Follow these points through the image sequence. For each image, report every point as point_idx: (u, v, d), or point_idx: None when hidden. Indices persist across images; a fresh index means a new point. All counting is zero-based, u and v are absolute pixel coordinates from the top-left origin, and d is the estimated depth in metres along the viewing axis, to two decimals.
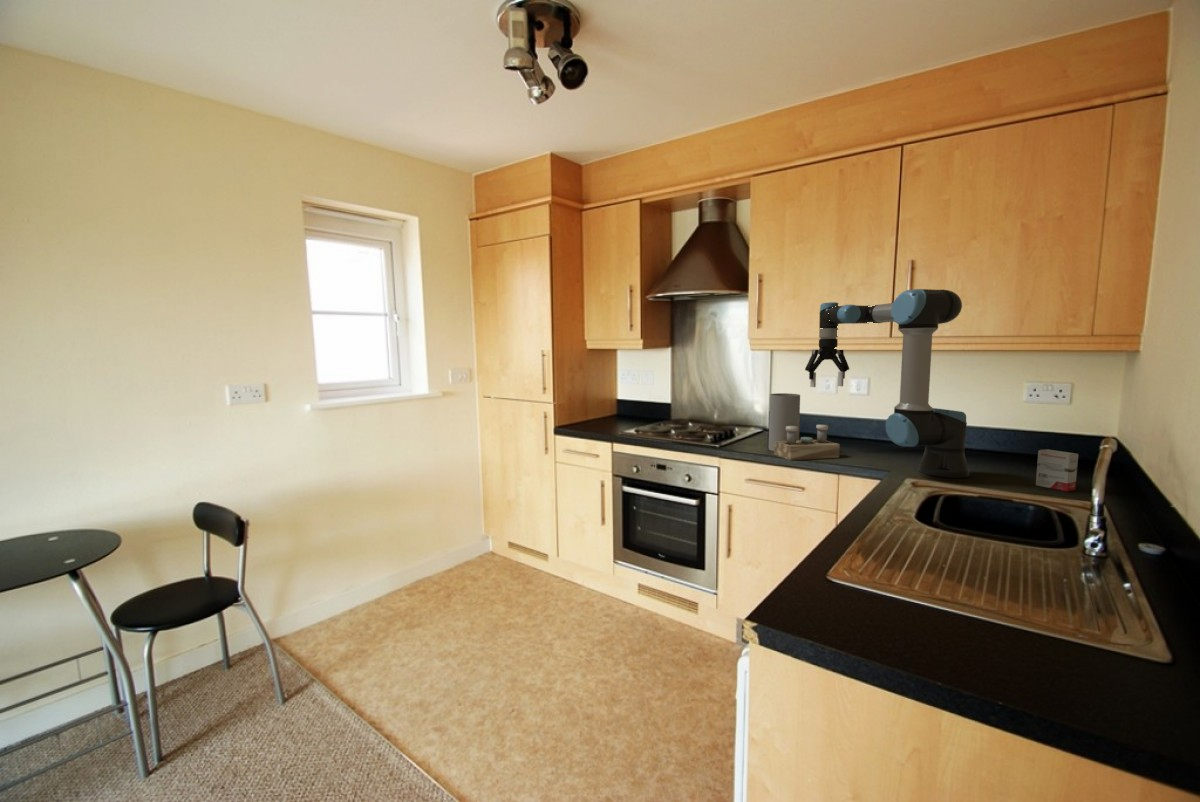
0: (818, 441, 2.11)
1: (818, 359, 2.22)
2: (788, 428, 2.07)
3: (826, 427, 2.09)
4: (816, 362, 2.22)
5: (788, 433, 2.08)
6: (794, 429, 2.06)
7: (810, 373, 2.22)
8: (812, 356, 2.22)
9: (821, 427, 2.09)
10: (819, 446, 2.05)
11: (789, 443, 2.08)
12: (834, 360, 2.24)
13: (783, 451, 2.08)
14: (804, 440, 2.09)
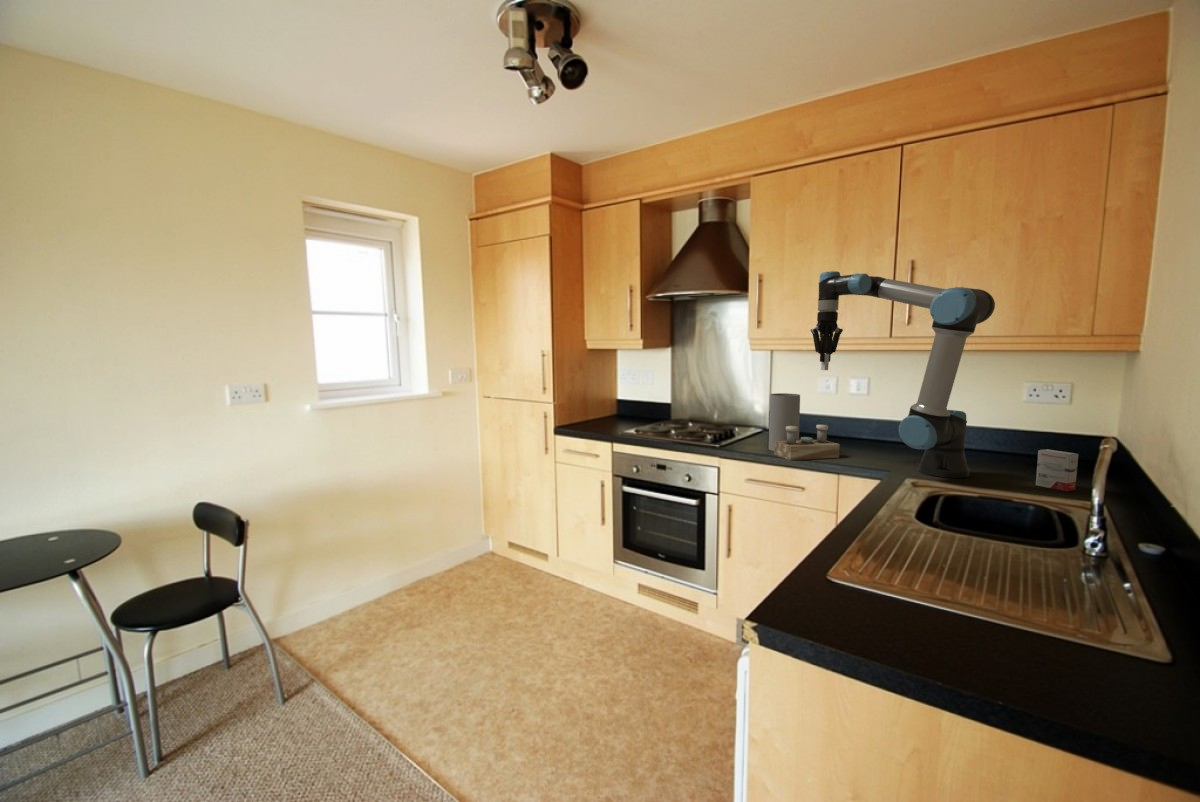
0: (818, 441, 2.11)
1: (821, 337, 2.04)
2: (788, 428, 2.07)
3: (826, 427, 2.09)
4: (821, 342, 2.04)
5: (788, 433, 2.08)
6: (794, 429, 2.06)
7: (821, 355, 2.05)
8: (814, 336, 2.04)
9: (821, 427, 2.09)
10: (819, 446, 2.05)
11: (789, 443, 2.08)
12: (828, 337, 2.04)
13: (783, 451, 2.08)
14: (804, 440, 2.09)
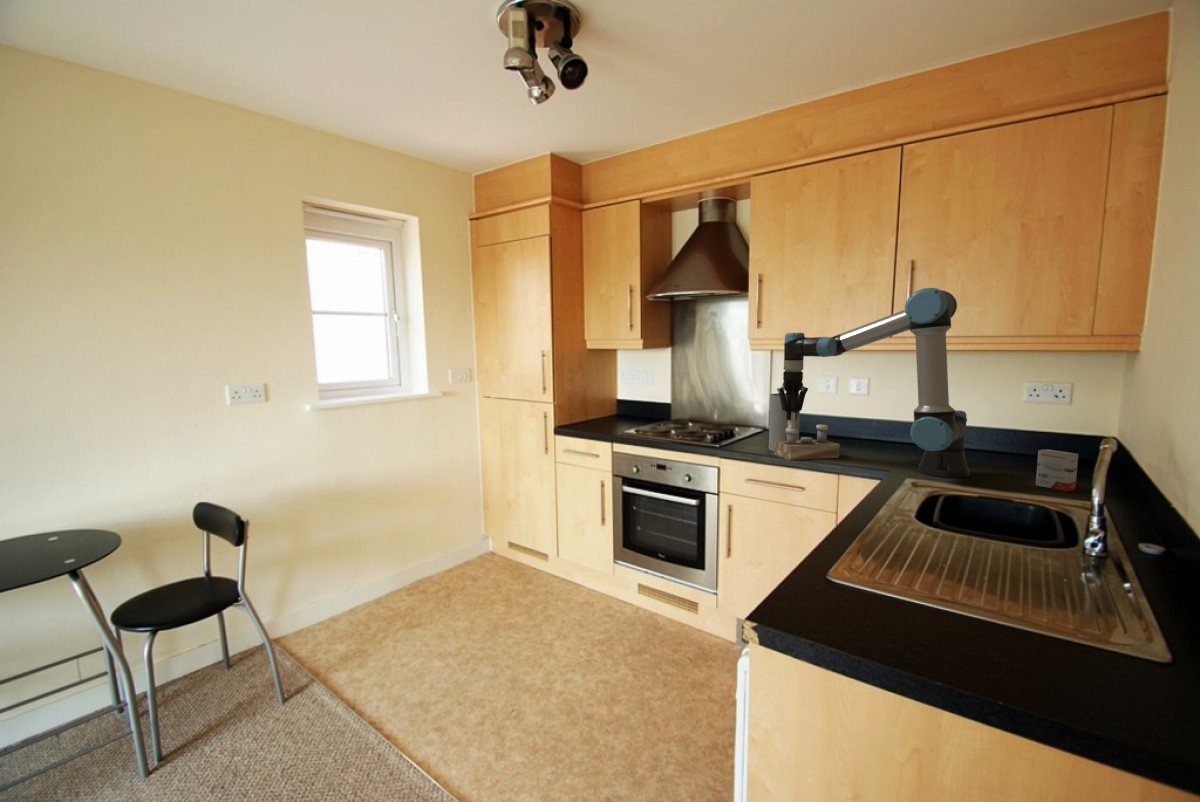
0: (818, 441, 2.11)
1: (787, 396, 2.07)
2: (788, 430, 2.07)
3: (826, 427, 2.09)
4: (788, 400, 2.07)
5: (788, 435, 2.08)
6: (794, 431, 2.06)
7: (787, 413, 2.07)
8: (780, 395, 2.06)
9: (821, 427, 2.09)
10: (819, 446, 2.05)
11: None
12: (794, 395, 2.07)
13: (783, 451, 2.08)
14: (804, 440, 2.09)
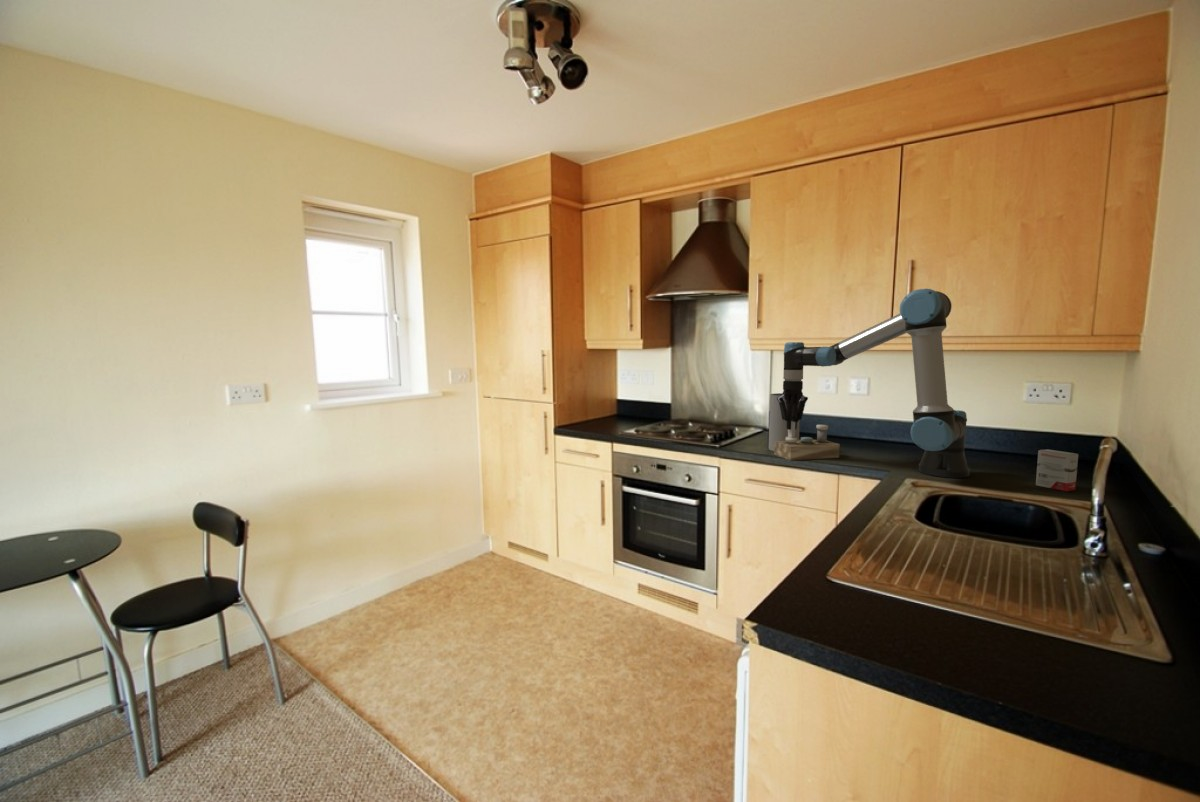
0: (818, 441, 2.11)
1: (787, 405, 2.07)
2: (788, 439, 2.08)
3: (826, 427, 2.09)
4: (788, 410, 2.07)
5: (788, 444, 2.08)
6: (794, 440, 2.07)
7: (787, 423, 2.08)
8: (780, 405, 2.07)
9: (821, 427, 2.09)
10: (819, 446, 2.05)
11: None
12: (794, 405, 2.07)
13: (783, 451, 2.08)
14: (804, 440, 2.09)
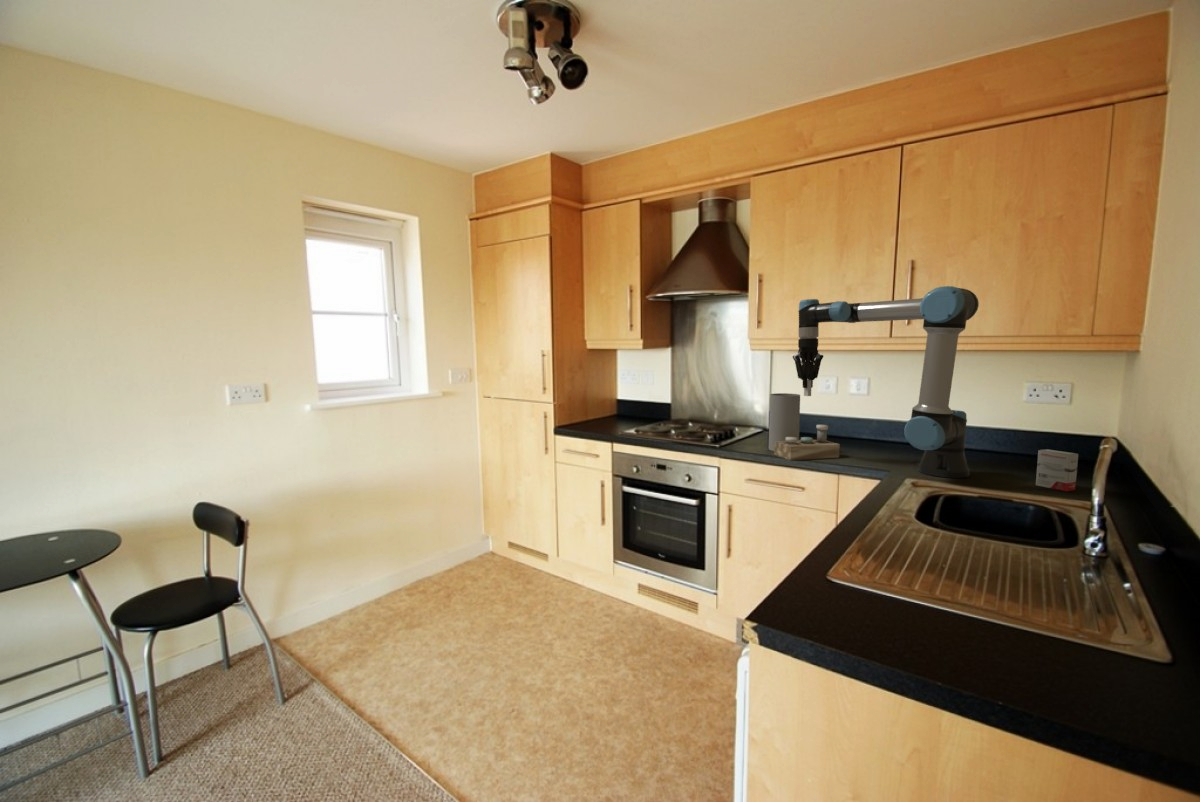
0: (818, 441, 2.11)
1: (803, 364, 2.06)
2: (788, 439, 2.08)
3: (826, 427, 2.09)
4: (803, 368, 2.06)
5: (788, 444, 2.08)
6: (794, 440, 2.07)
7: (803, 381, 2.07)
8: (796, 363, 2.06)
9: (821, 427, 2.09)
10: (819, 446, 2.05)
11: None
12: (809, 363, 2.07)
13: (783, 451, 2.08)
14: (804, 440, 2.09)
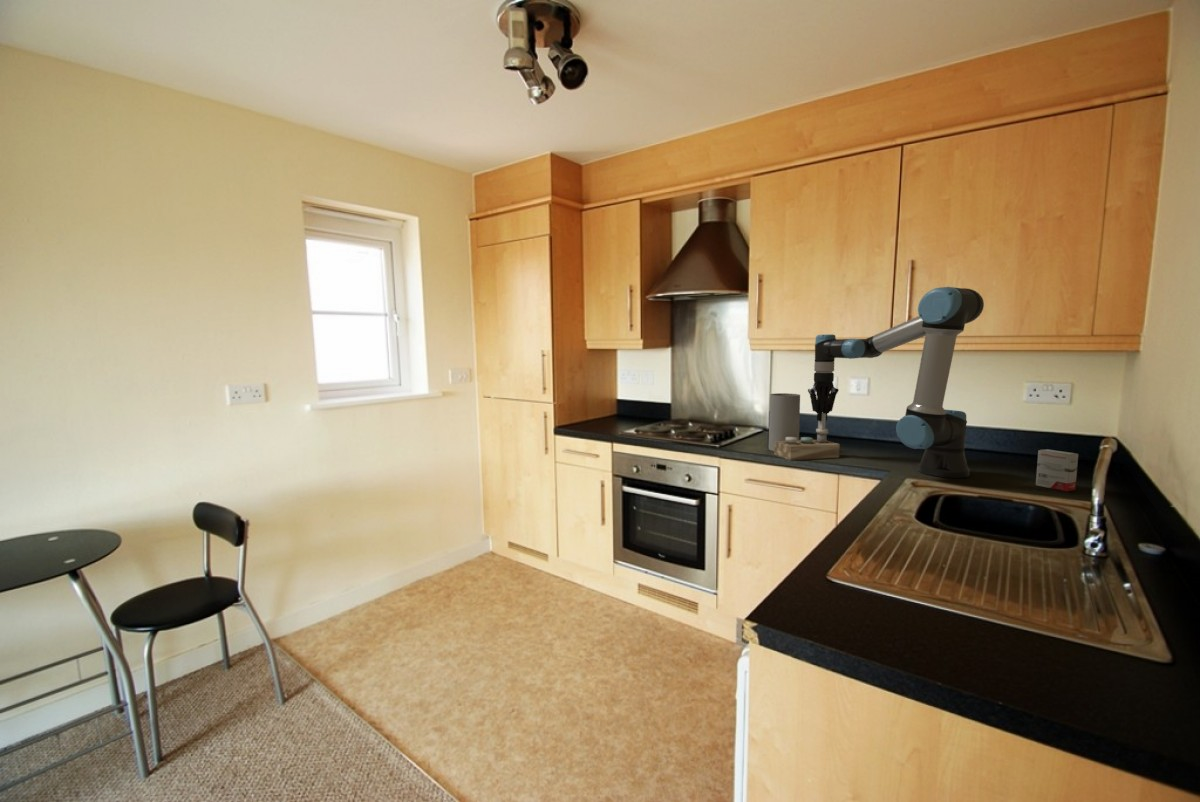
0: None
1: (818, 397, 2.10)
2: (788, 439, 2.08)
3: (826, 431, 2.09)
4: (818, 401, 2.10)
5: (788, 444, 2.08)
6: (794, 440, 2.07)
7: (818, 414, 2.10)
8: (811, 396, 2.09)
9: (821, 431, 2.09)
10: (819, 446, 2.05)
11: None
12: (824, 396, 2.10)
13: (783, 451, 2.08)
14: (804, 440, 2.09)
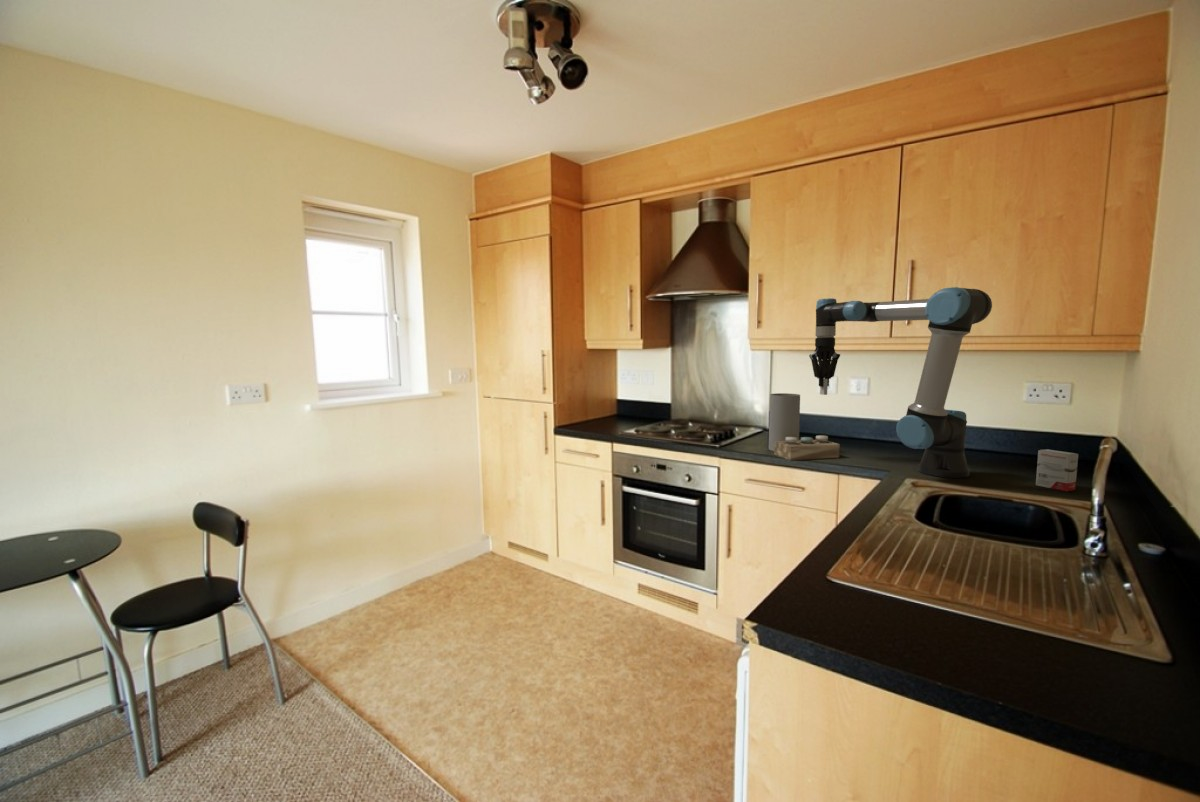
0: None
1: (820, 362, 2.08)
2: (788, 439, 2.08)
3: (826, 438, 2.10)
4: (820, 367, 2.08)
5: (788, 444, 2.08)
6: (794, 440, 2.07)
7: (820, 380, 2.09)
8: (813, 362, 2.07)
9: (821, 438, 2.10)
10: (819, 446, 2.05)
11: None
12: (826, 362, 2.08)
13: (783, 451, 2.08)
14: (804, 440, 2.09)
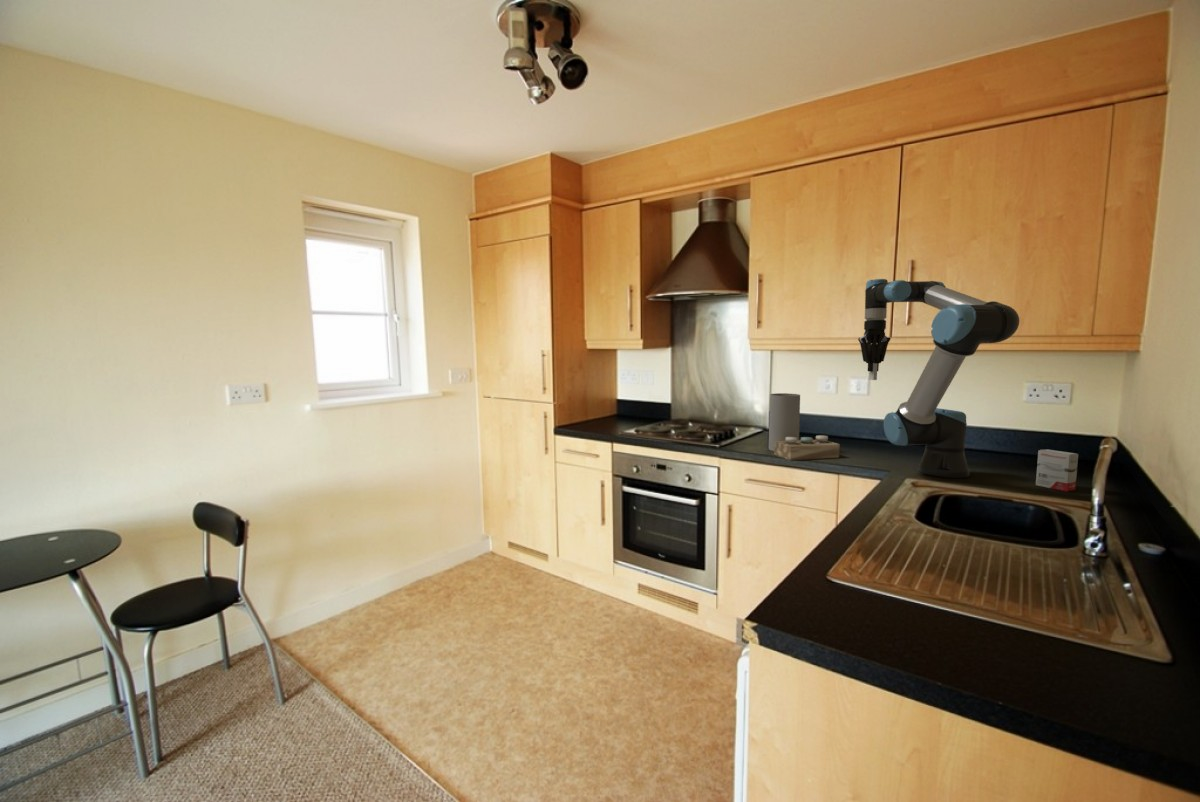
0: None
1: (869, 346, 1.99)
2: (788, 439, 2.08)
3: (826, 438, 2.10)
4: (869, 351, 1.99)
5: (788, 444, 2.08)
6: (794, 440, 2.07)
7: (869, 364, 2.00)
8: (862, 345, 1.99)
9: (821, 438, 2.10)
10: (819, 446, 2.05)
11: None
12: (875, 346, 2.00)
13: (783, 451, 2.08)
14: (804, 440, 2.09)
